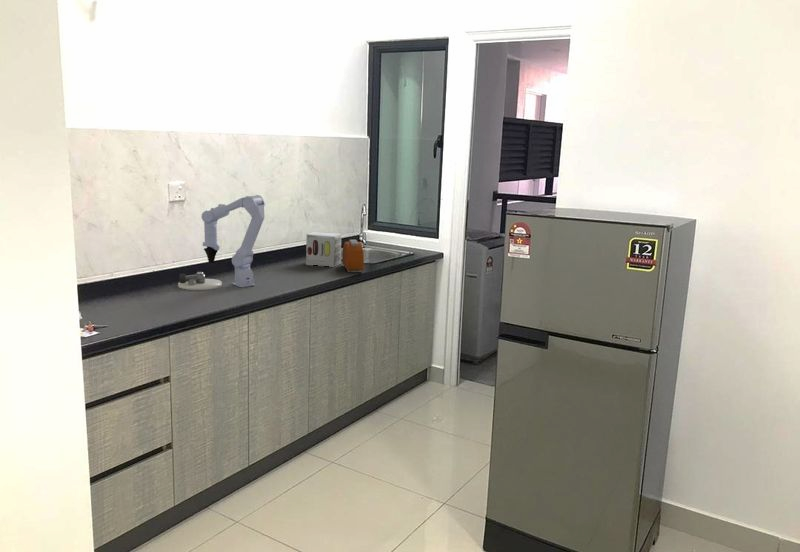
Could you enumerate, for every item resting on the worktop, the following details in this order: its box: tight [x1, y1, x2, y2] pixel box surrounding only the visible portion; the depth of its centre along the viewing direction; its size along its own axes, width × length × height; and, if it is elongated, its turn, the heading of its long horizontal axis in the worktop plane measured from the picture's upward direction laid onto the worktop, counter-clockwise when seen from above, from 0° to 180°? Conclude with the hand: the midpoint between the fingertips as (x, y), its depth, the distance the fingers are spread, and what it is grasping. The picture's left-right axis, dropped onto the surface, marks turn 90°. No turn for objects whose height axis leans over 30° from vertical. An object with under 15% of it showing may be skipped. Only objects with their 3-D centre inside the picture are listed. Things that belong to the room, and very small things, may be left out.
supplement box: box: [305, 231, 342, 268], centre depth 372 cm, size 17×13×18 cm
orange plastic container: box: [341, 239, 365, 273], centre depth 362 cm, size 23×9×17 cm, turn 12°
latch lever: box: [179, 271, 206, 283], centre depth 306 cm, size 12×4×5 cm, turn 131°
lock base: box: [177, 278, 223, 291], centre depth 308 cm, size 20×20×4 cm
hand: (211, 262), depth 318 cm, fingers closed
